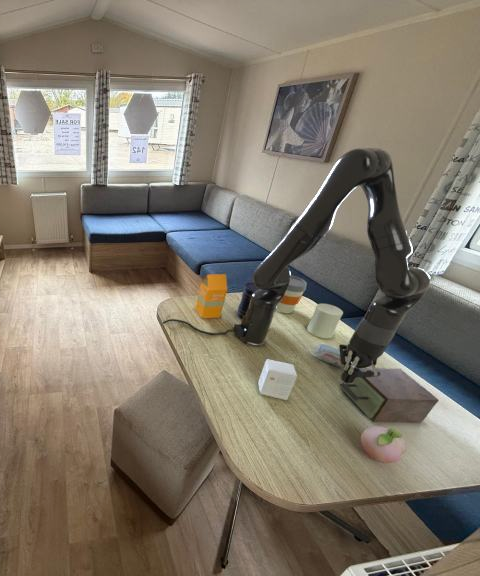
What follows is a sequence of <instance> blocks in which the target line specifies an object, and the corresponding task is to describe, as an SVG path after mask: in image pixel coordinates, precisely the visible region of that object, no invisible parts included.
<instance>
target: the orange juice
mask: <svg viewBox="0 0 480 576" xmlns="http://www.w3.org/2000/svg"><path fill="white" fill-rule="evenodd" d="M227 280H228V279H227V274H226V273H217V274H207V275H206V276H204V278H203V279H202V280H201V282H200V286H199V291H198V295H197V300H196V303H195V304H196V305H195V311H196V312H197V314H198V315H199V317H200V318H201V319H211V318H214V319H215V318H221V315H222V311H223V308H224V305H225V300H226V298H227V297H226V296H227V293H228V281H227Z"/></svg>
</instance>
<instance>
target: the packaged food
mask: <svg viewBox="0 0 480 576" xmlns="http://www.w3.org/2000/svg"><path fill="white" fill-rule="evenodd" d="M315 349H317V352H315V353H314V354H313V355H312V357H313V358H316V359H318V360H319V361H321V362H325V363H328V364H331V365H333V366H335V367H339V368H341V369H344V365H342V364H341V359H340V349H339V348H336V347H334V346H331V345H329V344H325V343H321V344H318V345H316V346H315ZM346 359H347V357H346V356H345V361H346ZM344 370H345V369H344Z"/></svg>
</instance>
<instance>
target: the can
mask: <svg viewBox="0 0 480 576" xmlns="http://www.w3.org/2000/svg"><path fill="white" fill-rule="evenodd" d="M343 314H344V311H343V310H342V309H340V308H339V307H337V306H335V305H332V304H329V303H318V304H316V307H315V308H314V312H313V313H312V316H311V318H310V321H309V323H308V326H307V327H306V330H307V331H308V332H309V333H310V334H311V335H313V336H315V337H318V338H321V339H331V338H332V337H333V335H334V332H335V330H336V329H337V327H338V324H339V322H340V320H341V318H342V316H343Z"/></svg>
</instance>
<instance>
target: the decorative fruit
mask: <svg viewBox="0 0 480 576" xmlns="http://www.w3.org/2000/svg"><path fill="white" fill-rule="evenodd" d="M360 441H361V445H362V448H363V450H364V451H365V452H366V454H367V455H368V456H369V457H371V459H373V460H374V461H376V462H379V463H382V464H394V463H397V462H399V461H400V460H401V458H402V456H403V455H404V454H405V453H406V451H407V444H406V442H405V440H404V438H403V433H402V432H401V431H400V430H398V429H395V428H387V427H384V426H380V425H373V426H369V427H367V428H365V429H364V430H363V431H362V433H361V435H360Z"/></svg>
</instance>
